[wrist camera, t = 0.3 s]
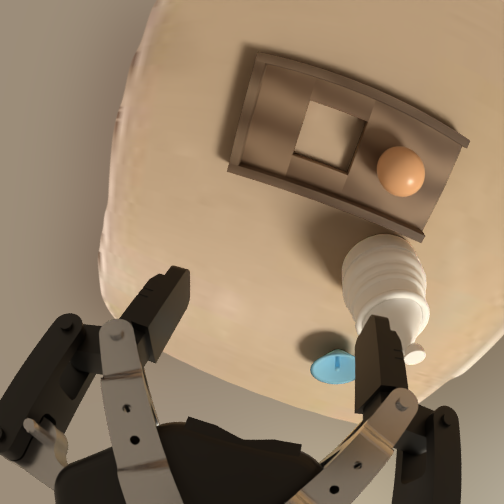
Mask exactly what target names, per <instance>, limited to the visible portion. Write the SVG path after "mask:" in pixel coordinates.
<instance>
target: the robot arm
mask: <svg viewBox="0 0 504 504" xmlns="http://www.w3.org/2000/svg"><path fill="white" fill-rule="evenodd" d="M189 300H190V271H189V270H188V269H184V268H181V267H177V266H171V267H170V269H169V270H168V271H167V273H166V274H165V275H162V274H158V275H156V276H154V277H153V278H151V279H149V281H148V282H147V283H146V284H145V286H144V287H143V289H142V290H141V291H140V292H139V293H138V295H137V296H136V297H135V299H134V300H133V301H132V302H131V304H130V305H129V306H128V308H127V309H126V310H125V312H124V313H123V314H122V316H121V317H120V318H119V319H113V320H110V321H108V322H106V323H105V324H104V325H103V326H95V325H86V324H83V323H82V320H81V318H80V317H79V316H78V315H75V314H72V313H71V314H70V313H69V314H64V315H61V316H60V317H58V318H57V319H56V320H55V321H54V323H53V324H52V325H51V326H50V328H49V329H48V331H47V332H46V333H45V334H44V336H43V337H42V339H41V340H40V341H39V343H38V344H37V345H36V347H35V348H34V350H33V351H32V352H31V354H30V355H29V357H28V358H27V360H26V361H25V362H24V364H23V365H22V367H21V368H20V370H19V371H18V373H17V374H16V376H15V377H14V379H13V381H12V382H11V384H10V386H9V387H8V389H7V390H6V392H5V393H4V395H3V397H2V398H1V400H0V455H2V456H3V457H4V458H5V459H7V460H9V461H10V462H12V463H14V464H16V465H17V466H19V467H21V468H23V469H25V470H26V471H27V472H28V473H30V474H31V475H32V476H34V477H35V478H37V479H38V480H39V481H41V482H42V483H44V484H45V485H47V486H48V487H49V488H51V489H52V490H54V492H55V493H54V494H55V502H56V504H351V503H352V502H353V501H354V500H355V499H356V498H357V497H358V495H359V494H360V493H361V492H362V491H363V490H364V489H365V488H366V486H367V485H368V484H369V483H370V482H371V481H372V479H373V478H374V477H375V476H376V475H377V473H378V472H379V471H380V470H381V469H382V467H383V466H384V465H385V464H386V462H387V461H388V460H389V458H390V457H391V456H392V454H393V452H394V450H393V449H392V448H396V449H397V457H396V471H395V481H394V490H393V497H392V504H460V502H461V501H460V500H461V444H460V430H459V421H458V416H457V414H456V412H455V411H454V410H453V409H452V408H450V407H448V406H441V407H439V408H438V409H436V410H435V411H433V410H431V409H428V408H426V407H423V406H421V405H419V404H418V400H417V398H416V396H415V395H414V394H413V393H412V392H411V391H410V390H408V383H407V375H406V368H405V361H404V355H403V352H402V351H403V349H402V343H401V340H400V338H399V336H398V335H397V333H396V331H392V330H391V329H390V323H389V319H388V318H387V317H382V316H378V315H371V316H370V317H369V319H368V320H367V322H366V324H365V326H364V328H363V329H362V331H361V333H360V335H359V336H358V338H357V341H356V345H355V413H358V414H363V420H362V421H361V422H360V423H359V424H358V425H357V427H356V428H355V429H354V430H353V431H352V432H351V433H350V434H349V435H348V436H347V437H346V438H345V439H344V440H343V441H342V442H341V443H340V444H339V445H338V446H337V447H336V448H335V449H334V450H333V451H332V452H331V453H330V454H329V455H327V456H326V457H325V458H324V459H323V460H322V461H321V462H319V463H318V462H317V461H316V460H315V459H314V458H312V457H311V456H310V455H308V454H306V453H304V452H302V451H301V444H296V443H290V442H284V441H279V440H243V439H241V438H238V437H237V436H235V435H233V434H231V433H229V432H227V431H225V430H224V429H222V428H219V427H218V426H216V425H214V424H210V423H207V422H204V421H201V420H198V419H194V418H192V417H188V419H187V421H186V422H171V423H165V424H161V425H160V423H159V420H158V417H157V414H156V411H155V408H154V405H153V401H152V397H151V394H150V390H149V386H148V382H147V378H146V374H145V370H144V366H145V364H146V363H147V361H151V362H153V363H156V362H157V360H158V359H159V357H160V355H161V353H162V351H163V350H164V348H165V346H166V344H167V342H168V341H169V339H170V337H171V335H172V333H173V332H174V330H175V328H176V326H177V325H178V323H179V321H180V319H181V318H182V316H183V314H184V312H185V311H186V309H187V307H188V304H189ZM96 374H102V375H103V378H101V390H102V396H103V403H104V409H105V414H106V419H107V425H108V430H109V434H110V439H111V443H112V447H110V448H108V449H105V450H103V451H101V452H98V453H96V454H93V455H91V456H88V457H86V458H83V459H81V460H78V461H75V462H73V463H70V464H68V463H67V460H66V454H67V450H68V441H67V438H66V436H65V435H64V433H65V431H66V429H67V427H68V425H69V423H70V421H71V419H72V417H73V416H74V413H75V412H76V410H77V408H78V406H79V404H80V402H81V400H82V398H83V397H84V395H85V393H86V391H87V389H88V388H89V386H90V384H91V382H92V380H93V378H94V377H95V375H96Z"/></svg>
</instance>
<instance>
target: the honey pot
mask: <svg viewBox="0 0 504 504" xmlns="http://www.w3.org/2000/svg"><path fill="white" fill-rule="evenodd" d="M426 286H427V285H426V274H425V272H424V269H423V267H422V265H421V262H420V260H419V258H418V256H417V254H416V251H415V249H414V248H413V246H412V245H411V244H410V243H409V242H408V241H406V240H405V239H403V238H401V237H399V236H395V235H391V234H378V235H374V236H371V237H367V238H365V239H364V240H362V241H360V242H358V243H357V244H356V245H355V246H354V247H353V248H352V249H350V251H349V252H348V254H347V255H346V257H345V259H344V262H343V265H342V289H343V290H342V291H343V298H344V301H345V305H346V307H347V308H348V310H349V311H350V313H351V315H352V318H353V320H354V321H355V327H356V331H357V334H358V335H360V333H361V331H362V329H363V328H364V326H365V324H366V322H367V320H368V319H369V317H370V316H371V315H378V316H382V317H387V318H388V319H389V323H390V329H391V330H392V331H396V333H397V335H398V336H399V338H400V340H401V343H402V349H403V351H402V352H403V355H404V361H405V363H406V364H408V365H414V364H418V363H420V362H421V361H423V360H424V358H425V356H426V354H425V351H424V349H423V347H422V346H421V345H419V344H417V343H414V341H415V339H416V337H417V336H418V335H419V334H420V333H421V332H422V331H423V329H424V328H425V326H426V325H427V322H428V319H429V316H430V315H429V306H428V303H427V301H426V297H425V295H426Z"/></svg>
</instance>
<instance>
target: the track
mask: <svg viewBox="0 0 504 504" xmlns="http://www.w3.org/2000/svg"><path fill="white" fill-rule="evenodd" d="M310 100H311V101H314V102H317V103H320V104H323V105H325V106H328V107H331V108H334V109H337V110H339V111H342V112H345V113H347V114H350V115H352V116H355V117H357V118H360V119H362V120H365V121H366V123H365V126H364V129H363V131H362V134H361V137H360V140H359V142H358V145H357V148H356V150H355V153H354V156H353V158H352V161H351V163H350V166H349V169H348V171H347V172H345V171H342V170H340V169H337V168H335V167H332V166H329V165H326V164H324V163H321V162H318V161H315V160H313V159H310V158H307V157H304V156H301V155H298V154H295V153H293V152H294V149H295V146H296V143H297V139H298V136H299V133H300V130H301V127H302V124H303V121H304V117H305V114H306V111H307V108H308V105H309V101H310ZM469 142H470V140H469V139H467V138H466V137H464V136H463V135H461V134H460V133H458V132H456V131H455V130H453V129H452V128H450V127H448V126H447V125H445V124H443V123H442V122H440V121H438V120H437V119H435V118H433V117H431V116H430V115H428V114H426V113H424V112H422V111H420V110H419V109H417V108H415V107H413V106H411V105H409V104H407V103H405V102H403V101H401V100H399V99H397V98H395V97H392V96H390V95H388V94H386V93H384V92H382V91H379V90H377V89H375V88H372V87H370V86H368V85H365V84H363V83H360V82H358V81H355V80H353V79H350V78H347V77H345V76H342V75H339V74H336V73H333V72H330V71H327V70H324V69H321V68H318V67H315V66H312V65H308V64H305V63H302V62H298V61H294V60H291V59H287V58H283V57H279V56H275V55H271V54H266V53H262V52H258V53H257V57H256V60H255V64H254V67H253V71H252V74H251V78H250V82H249V85H248V89H247V93H246V97H245V101H244V104H243V108H242V112H241V116H240V120H239V124H238V128H237V132H236V136H235V140H234V144H233V149H232V153H231V157H230V161H229V165H228V170H227V172H230V173H233V174H237V175H240V176H243V177H246V178H250V179H253V180H256V181H259V182H262V183H265V184H268V185H272V186H275V187H278V188H281V189H284V190H287V191H289V192H292V193H295V194H298V195H301V196H304V197H307V198H310V199H312V200H315V201H318V202H321V203H323V204H326V205H329V206H332V207H334V208H337V209H340V210H342V211H345V212H347V213H350V214H353V215H355V216H358V217H360V218H363V219H365V220H368V221H370V222H373V223H375V224H378V225H380V226H383V227H385V228H387V229H390V230H392V231H394V232H397V233H399V234H401V235H404V236H406V237H408V238H411V239H413V240H415V241H417V242H420V243H422V241H423V239H424V237H425V235H424V233H423V231H422V230H423V229H424V227H425V225H426V223H427V221H428V219H429V217H430V215H431V214H432V212H433V210H434V208H435V206H436V204H437V202H438V200H439V198H440V196H441V193H442V191H443V189H444V187H445V185H446V183H447V181H448V178H449V176H450V174H451V172H452V169H453V167H454V165H455V162H456V160H457V158H458V155H459V153H460V150H461V148H462V146H463V147H465V148H467V147H468V145H469ZM396 146H402V147H407V148H409V149H411V150H413V151H414V152H415V153H416V154H417V155H418V156H419V157H420V158H421V160H422V162H423V165H424V168H425V179H424V182H423V184H422V186H421V188H420V189H419V190H418V191H417V192H416V193H414V194H413V195H410V196H407V197H398V196H395V195H392V194H390V193H389V192H387V191H386V190H385V189H384V188H383V186H382V185H381V183H380V181H379V179H378V176H377V163H378V160H379V158H380V156H381V155H382V154H383V153H384V152H385V151H386V150H387V149H389V148H392V147H396Z"/></svg>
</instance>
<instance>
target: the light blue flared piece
mask: <svg viewBox="0 0 504 504" xmlns="http://www.w3.org/2000/svg"><path fill="white" fill-rule="evenodd" d="M310 371H311V374H312V375H313V377H314V378H316V379H317V380H319V381H321V382H324V383H328V384H343V383H348V382H351V381H353V380H355V356H353V355H351V354H349V353H347V352H345V351H343V350H341V349H336V350H333V351H332V352H330V353H328V354H326V355H324V356H322V357H320V358H319V359H317V360H316V361H314V363H313V364H312V365H311V369H310Z"/></svg>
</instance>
